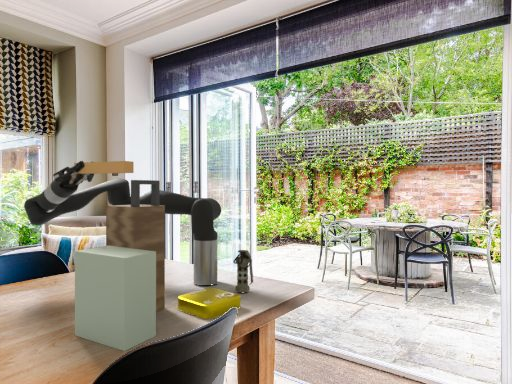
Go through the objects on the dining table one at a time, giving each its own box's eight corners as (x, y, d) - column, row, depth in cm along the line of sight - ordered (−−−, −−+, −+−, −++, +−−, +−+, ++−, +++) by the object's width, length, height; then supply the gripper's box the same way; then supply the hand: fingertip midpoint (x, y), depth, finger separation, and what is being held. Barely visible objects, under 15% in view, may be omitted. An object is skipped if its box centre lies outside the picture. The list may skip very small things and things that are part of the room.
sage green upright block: (74, 335, 94) (74, 250, 93) (107, 322, 102) (107, 245, 102) (124, 351, 85) (124, 258, 85) (155, 335, 94) (156, 251, 93)
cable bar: (74, 173, 123) (74, 162, 123) (83, 173, 126) (83, 163, 126) (124, 172, 111) (124, 160, 111) (133, 173, 114) (133, 161, 114)
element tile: (210, 299, 126) (210, 285, 126) (243, 308, 116) (243, 293, 116) (174, 310, 114) (174, 294, 114) (207, 322, 105) (207, 305, 105)
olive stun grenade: (230, 294, 130) (231, 251, 130) (240, 289, 137) (240, 248, 136) (246, 296, 127) (246, 253, 127) (256, 291, 134) (256, 250, 133)
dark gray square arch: (130, 206, 107) (130, 180, 106) (154, 205, 115) (154, 180, 115) (135, 207, 106) (135, 180, 105) (159, 205, 114) (159, 180, 114)
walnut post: (106, 312, 110) (106, 205, 110) (137, 302, 121) (137, 204, 120) (134, 320, 104) (134, 207, 104) (164, 308, 115) (164, 205, 114)
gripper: (37, 179, 124) (64, 152, 117) (76, 180, 136) (103, 155, 129) (44, 199, 122) (72, 172, 115) (82, 197, 135) (110, 173, 127)
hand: (88, 163), depth 122 cm, fingers closed on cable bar, 3 cm apart
